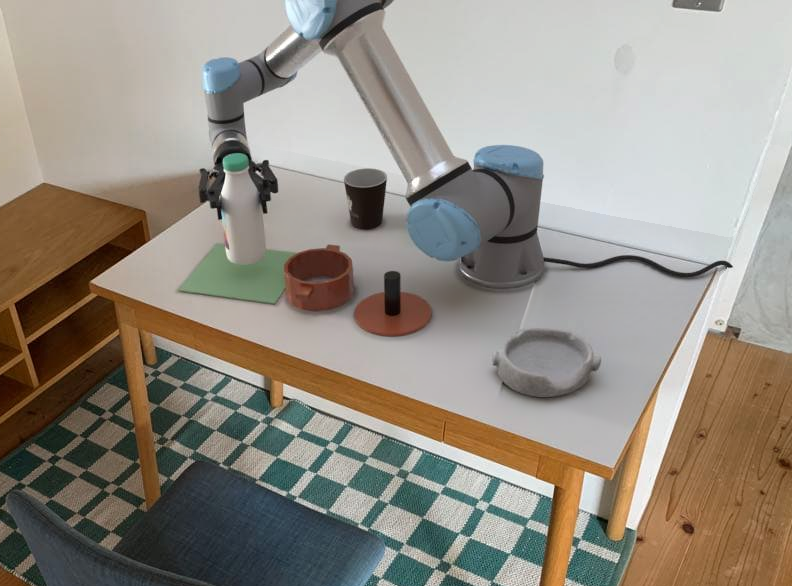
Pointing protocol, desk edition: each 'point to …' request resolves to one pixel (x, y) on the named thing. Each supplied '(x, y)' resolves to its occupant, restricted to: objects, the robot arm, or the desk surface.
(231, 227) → the milk bottle
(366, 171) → the brown coffee cup
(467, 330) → the desk surface
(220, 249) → the mat
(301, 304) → the pot
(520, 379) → the dish
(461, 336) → the desk surface
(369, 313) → the lid
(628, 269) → the desk surface
